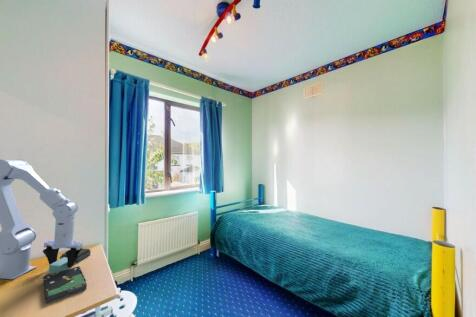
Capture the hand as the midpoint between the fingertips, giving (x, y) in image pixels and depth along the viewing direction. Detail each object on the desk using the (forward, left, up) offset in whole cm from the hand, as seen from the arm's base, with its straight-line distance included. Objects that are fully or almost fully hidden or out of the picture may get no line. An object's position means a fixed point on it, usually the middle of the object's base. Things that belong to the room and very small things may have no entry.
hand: (61, 265), depth 78 cm
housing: (0, 0, -2) cm, 2 cm away
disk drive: (+10, -9, -2) cm, 14 cm away
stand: (-2, +9, -2) cm, 9 cm away
